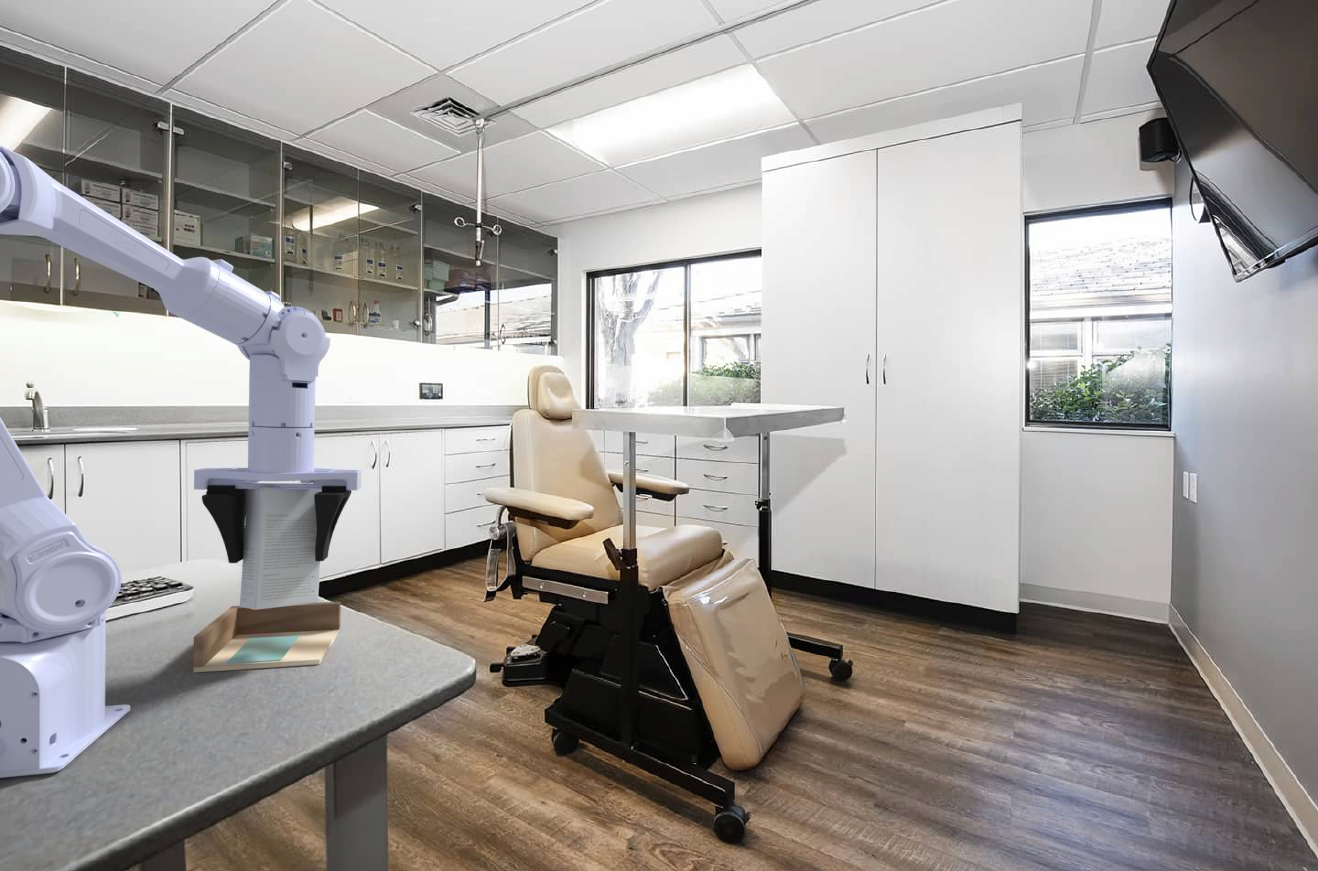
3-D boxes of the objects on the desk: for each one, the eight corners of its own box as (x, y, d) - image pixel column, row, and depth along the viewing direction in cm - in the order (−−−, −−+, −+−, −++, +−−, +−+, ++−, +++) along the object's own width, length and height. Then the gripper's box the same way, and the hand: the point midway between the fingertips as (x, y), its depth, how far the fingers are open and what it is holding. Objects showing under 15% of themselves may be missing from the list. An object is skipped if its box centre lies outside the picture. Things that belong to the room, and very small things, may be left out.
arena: (319, 664, 63) (320, 630, 63) (193, 672, 60) (193, 636, 60) (340, 631, 72) (340, 601, 72) (231, 637, 69) (232, 606, 69)
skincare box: (301, 600, 67) (308, 489, 69) (318, 603, 64) (326, 487, 66) (236, 606, 62) (246, 487, 64) (252, 610, 60) (262, 485, 61)
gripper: (367, 427, 69) (365, 549, 69) (216, 423, 65) (214, 552, 65) (354, 430, 62) (351, 565, 62) (184, 425, 58) (182, 569, 58)
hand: (279, 559), depth 63 cm, fingers open, 7 cm apart
